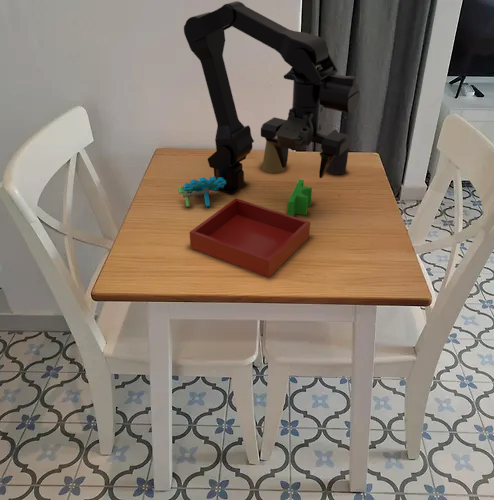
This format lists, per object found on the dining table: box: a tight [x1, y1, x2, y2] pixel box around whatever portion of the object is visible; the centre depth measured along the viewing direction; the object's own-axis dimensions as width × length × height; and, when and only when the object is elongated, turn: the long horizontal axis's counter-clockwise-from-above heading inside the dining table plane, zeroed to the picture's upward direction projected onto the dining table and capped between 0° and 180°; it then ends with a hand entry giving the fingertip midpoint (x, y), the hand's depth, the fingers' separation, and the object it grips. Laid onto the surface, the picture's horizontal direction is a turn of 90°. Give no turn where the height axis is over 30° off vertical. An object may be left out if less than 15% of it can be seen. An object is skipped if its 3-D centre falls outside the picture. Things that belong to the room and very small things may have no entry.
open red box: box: [189, 197, 311, 278], centre depth 113 cm, size 19×17×4 cm
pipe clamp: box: [286, 178, 313, 217], centre depth 125 cm, size 11×4×5 cm, turn 165°
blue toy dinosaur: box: [177, 175, 226, 208], centre depth 126 cm, size 11×6×10 cm
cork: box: [261, 138, 286, 174], centre depth 140 cm, size 6×6×11 cm
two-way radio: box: [326, 115, 350, 175], centre depth 137 cm, size 6×4×15 cm
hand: (302, 172), depth 121 cm, fingers open, 9 cm apart
